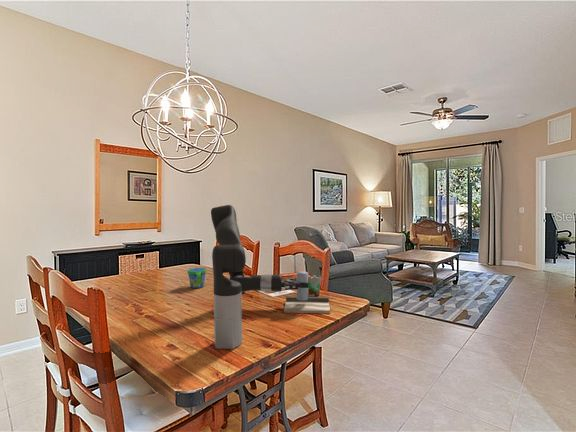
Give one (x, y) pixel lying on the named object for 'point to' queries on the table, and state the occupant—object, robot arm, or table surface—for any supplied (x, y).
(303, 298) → the roller
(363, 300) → the table surface
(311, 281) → the food container
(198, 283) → the snack cup
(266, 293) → the photo frame
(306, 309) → the board
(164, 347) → the table surface
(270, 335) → the table surface
